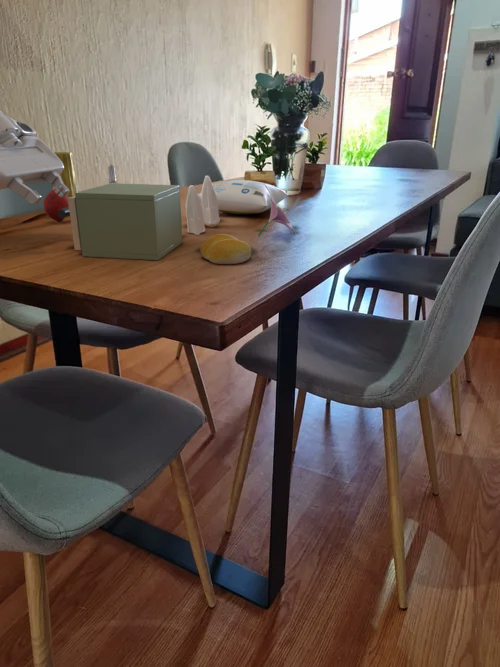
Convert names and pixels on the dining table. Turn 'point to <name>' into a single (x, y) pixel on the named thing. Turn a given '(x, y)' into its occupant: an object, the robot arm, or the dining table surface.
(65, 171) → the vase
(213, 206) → the shaker set
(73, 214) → the drawer
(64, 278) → the dining table surface
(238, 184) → the pouch
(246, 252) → the bread roll
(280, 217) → the lily
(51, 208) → the onion
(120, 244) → the cabinet
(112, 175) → the screw
